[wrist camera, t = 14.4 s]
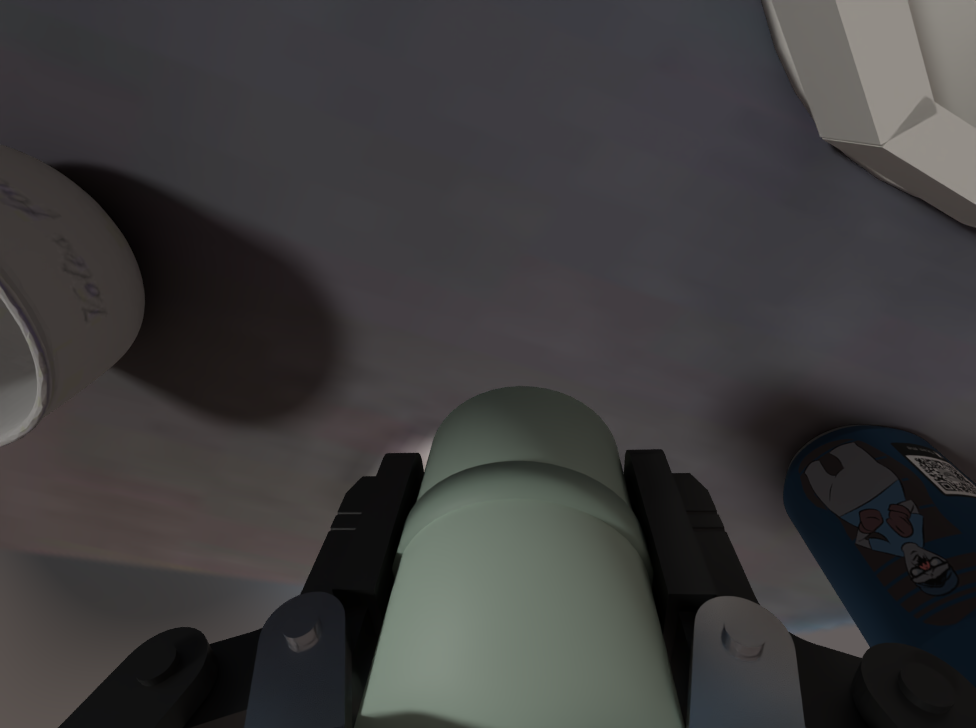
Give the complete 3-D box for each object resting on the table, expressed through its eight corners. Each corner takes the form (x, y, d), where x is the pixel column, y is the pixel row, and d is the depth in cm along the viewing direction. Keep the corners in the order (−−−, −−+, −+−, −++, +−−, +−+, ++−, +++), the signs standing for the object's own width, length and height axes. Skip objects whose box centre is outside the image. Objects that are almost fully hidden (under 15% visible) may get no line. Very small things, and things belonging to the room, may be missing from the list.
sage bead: (413, 384, 11) (306, 655, 6) (628, 379, 11) (728, 668, 5) (438, 536, 13) (377, 834, 8) (618, 537, 13) (681, 853, 7)
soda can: (873, 530, 27) (1090, 804, 17) (749, 506, 27) (889, 766, 17) (952, 427, 24) (1283, 686, 14) (811, 400, 24) (1035, 639, 13)
